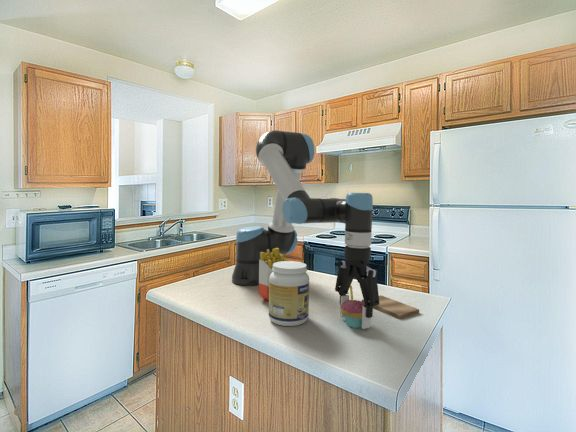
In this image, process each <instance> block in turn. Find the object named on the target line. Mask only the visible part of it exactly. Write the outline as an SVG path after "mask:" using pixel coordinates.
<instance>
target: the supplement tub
mask: <svg viewBox="0 0 576 432" xmlns="http://www.w3.org/2000/svg"><path fill="white" fill-rule="evenodd" d="M307 268H308V266H307V264H306V263H304V262H301V261H300V262H299V261H291V260H287V261H281V262H276V263H274V264H273V268H272V271H273V272H272V273H271V275H270V277H269V301H268V318H269V321H271V322H272V323H273V324H275V325H279V326H283V327H295V326H296V327H297V326H299V325H302V324H304V323H306V322H307V321H308V319H309V306H310V305H309V304H310V302H309V301H310V299H309V298H310V275H309V274H308V273H307V271H308V269H307Z"/></svg>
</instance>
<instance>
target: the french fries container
mask: <svg viewBox="0 0 576 432" xmlns="http://www.w3.org/2000/svg"><path fill="white" fill-rule="evenodd" d="M281 261H288V260H287V258H286V257H285V254H280V253H279V248H274V249H272V253H270V250H269V249H268V250H267V253H264V252H260V260H259V285H258V295H259V296H260V297H261V298H262V299H264V300H266V301H268V302H269V277H270V275H271V273H272V272H273V271H272V268H273V264H274V263H276V262H281Z"/></svg>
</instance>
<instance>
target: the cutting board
mask: <svg viewBox="0 0 576 432" xmlns="http://www.w3.org/2000/svg"><path fill="white" fill-rule="evenodd" d="M361 301H362V302H364V299H363V298H362V299H361ZM373 310H377V311H380V312H381V313H384V314H387V315H388V316H391V317H392V318H393V317H394V318H395V319H398V320H401V319H404V318H408V317H410V316H414V315H417V314H419V313H420V309H419V308H417V307H413V306H412V305H409V304H406V303H403V302H401V301H398V300H395V299H392V298H390V297H387V296H384V295H381V294H380V295H379V305H377V306H373Z"/></svg>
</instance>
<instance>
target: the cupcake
mask: <svg viewBox="0 0 576 432" xmlns="http://www.w3.org/2000/svg"><path fill="white" fill-rule="evenodd" d="M349 291H350V292H349V294H350V299H349V300H348V301H346V302H344V303H343V304H342V305H340V309H341V313H342V314H343V315H344V317H343V318H344V320H345V321H344V322H345V324H346V325H347V326H348V327H349V328H353V329H359V328H362V309H363V305H365V303H364V302H362V300H359V299H358V300H357V299H354V295H353V293H354V292H353V286H352V283H350V288H349Z"/></svg>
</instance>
